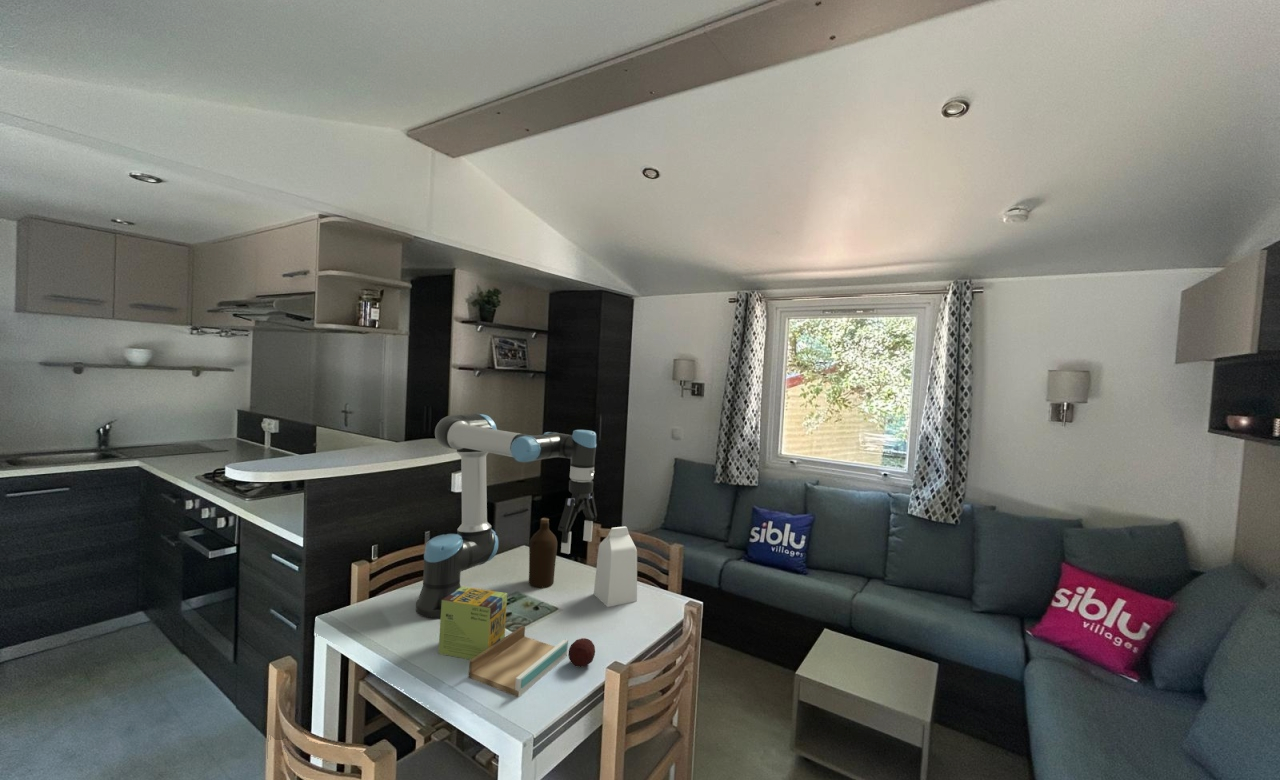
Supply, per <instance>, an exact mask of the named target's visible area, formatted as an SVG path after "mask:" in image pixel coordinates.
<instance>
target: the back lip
mask: <svg viewBox="0 0 1280 780" xmlns="http://www.w3.org/2000/svg"><path fill="white" fill-rule="evenodd" d="M525 630H526V626H524V625H521V626H520V627H518V628H516V630H514V631H512V632H510V633H508V635H507V636H505V638H503V639H502V640H500V641H499V642H497V643H496V644H494V645H493V646H491V647H490V648H488V649H487V650H485V651H484V652H482V653H481V654H479V655H478V656H476V657H475V658H473V659H472V660H469V664H468V665H469V666H468V667H469V668H468V675H469V674H470V673H471V675H472V673H473V672H474V671H476V670H477V669H479V668H480V667H482V666H483V665H484V664H486V663H487V662H489V661H490V660H492V659H493V658H494V657H496V656H497V655H499V654H500V653H502V652H503V651H505V650H506V649H507V648H509V647H510V646H512V645H513V644H515V643H516V642H517V641H519V640H520V639H522V638H523V637H526V636H525V634H526V631H525ZM469 672H470V673H469ZM471 678H472V677H471ZM471 678H470V677H469V678H468V679H471ZM471 680H472V679H471Z"/></svg>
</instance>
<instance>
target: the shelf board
mask: <svg viewBox="0 0 1280 780" xmlns="http://www.w3.org/2000/svg"><path fill="white" fill-rule="evenodd" d="M555 646H556V645H551V644H549V643H545V642H543V641H539V640H537V639H536V640H535V639H533V638H530V637H527V636H525V637H523V638H522V639H520V640H519V641H517V642H516V643H515V644H513V645H512V646H510V647H509V648H507V649H506V650H505V651H503V652H502V653H500V654H499V655H497V656H496V657H494V658H493V659H492V660H490V661H489V662H487V663H486V664H484V665H483V666H482V667H480V668H479V669H477V670H476V671H474V672H473V673H472V675H471V673H470V672H469V671H468V676H467V678H468V679H470V678H471V677H472V678H471V680H473V681H475V682H478V683H481V684H483V685H487V686H489V687H491V688H494V689H497V690H499V691H501V692H503V693H506V694H508V695H511V696H515V695H517V694H516V692H517V693H518V695H517V696H515V697H518V696H519V692H518V691H517V690H515V685H516V677H518V676H519V675H520V674H521V673H523V672H524V671H525V670H526V669H528V668H529V667H530V666H531V665H533V664H534V663H535V662H536V661H538V660H539V659H540V658H542V657H543V656H544V655H545V654H547V653H548V652H549V651H550V650H552V649H553V648H554V647H555ZM469 673H470V674H469ZM469 677H470V678H469ZM515 691H516V692H515ZM518 698H519V697H518Z"/></svg>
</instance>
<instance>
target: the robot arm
mask: <svg viewBox="0 0 1280 780" xmlns="http://www.w3.org/2000/svg"><path fill="white" fill-rule="evenodd" d="M434 436H435V440H436V441H437V443H438V444H439V445H440V446H441V447H443V448H446V449H451V450H456V454H458V455H459V456H460V458H461V459H460V460H461V463H460V464H461V467H460V468H461V524H460V525H459V527H458V528H457V533H447V534H439V535H437V536H434V537H432V538H431V539H429V540H428V541H427V542H426V544H425V546H424V547H425V548H424V553H423V559H424V560H423V578H422V587H421V591H420V593H419V596H418V598H417V601H416V604H415V612H416V614H417V615H418V616H420V617H424V618H428V619H429V618H430V619H439V618H440V619H441V604H442V600H443V599H444V598H446V597H447V596H449V595H450V594H452V593H453V592H455V591H456V590H457V589H459V588H460V587H462V586H461V574H462V572H463V571H466V570H469V569H472V568H473V567H474V568H475V567H477V566H481V565H483V564H486V563H487V562H489V561H491V560H492V559H493V558H494V557H495V556H496V554H497V552H498V549H499V537H498V535H496V534H497V533H496V531H494V529H492V525H491V523H489V522H488V508H487V507H488V505H487V503H488V498H487V497H488V496H487V493H488V492H487V490H488V488H487V456H488V454H489V453H490V454H495V455H499V456H506V457H511V458H514V459H515V461H516V462H519V463H531V462H535V461H540V460H547V459H553V458H563V459H569V460H570V465H569V466H570V469H569V470H570V471H569V478H570V480H568V491H569V492H570V493H571V494H572V495H571V498H570V497H569V498H568V497H566V498H565V503H564V507H563V508H564V509H563V511H562V514H561V517H560V520H559V524H558V527H557V531H558V532H561V544H560V547H561V548H560V553H562V554H567V555H569V554H571V544H572V531H571V529H572V526H574V522H575V520H576V517H577V515H578V514H579V513H580V512H581V511H582V512H583V513H582V514H583V515H584V517H585V520H584V525H583V538H582V541H585V542H590V543H591V542H592V540H593V526H594V525H593V524H594V522H596V521H597V517H598V513H597V507H596V502H595V501H596V500H595V491H594V481H593V480H594V474H595V472H596V471H595V462H596V461H595V459H596V450H597V433H596V431H593V430H588V429H575V430H573V431H572V434H567V433H566V434H565V433H561V432H560V433H559V432H557V431H556V432H555V431H553V432H552V431H547V432H544V433H543V434H537V435H533V434H532V435H530V434H525V433H519V432H513V431H506V430H500V429H497V425H496V423H495V421H494V420H493V419H492V418H491V417H490V416H489V415H487V414H483V413H481V414H480V413H473V414H472V413H471V414H467V413H466V414H451V415H447V416H445V417H443V418H441V419H440V420H439V422H437V424H436V426H435V429H434Z"/></svg>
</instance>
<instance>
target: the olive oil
mask: <svg viewBox="0 0 1280 780" xmlns="http://www.w3.org/2000/svg"><path fill="white" fill-rule="evenodd" d="M549 521H550V519H549V518H548V517H542V518H540V522H539V529H538V530H537V531H536V532H534V534H533V535H532V536H531V538H530V540H529V544H528V545H529V548H528V549H529V552H528V553H529V554H528V555H529V556H528V557H529V559H528V566H529V567H528V585H529V586H530V587H532V588H536V589H537V588H538V589H545V588H549V587H551V586H553V585H554V582H555V572H556V571H555V570H556V569H555V568H556V559H557V552H558V540H557V536H556V535H555V534H554V533H553V531H552V530H550V522H549Z"/></svg>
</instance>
